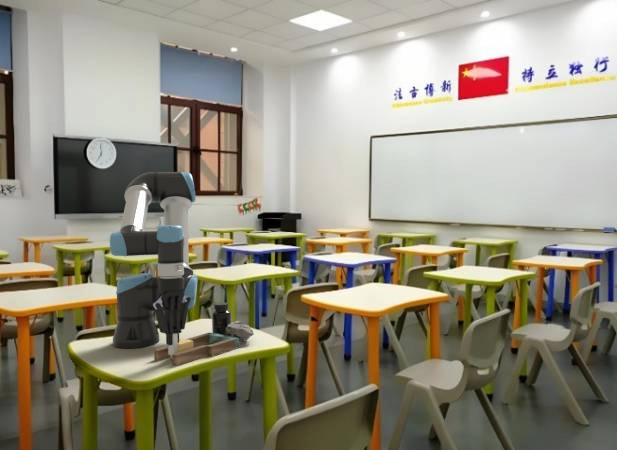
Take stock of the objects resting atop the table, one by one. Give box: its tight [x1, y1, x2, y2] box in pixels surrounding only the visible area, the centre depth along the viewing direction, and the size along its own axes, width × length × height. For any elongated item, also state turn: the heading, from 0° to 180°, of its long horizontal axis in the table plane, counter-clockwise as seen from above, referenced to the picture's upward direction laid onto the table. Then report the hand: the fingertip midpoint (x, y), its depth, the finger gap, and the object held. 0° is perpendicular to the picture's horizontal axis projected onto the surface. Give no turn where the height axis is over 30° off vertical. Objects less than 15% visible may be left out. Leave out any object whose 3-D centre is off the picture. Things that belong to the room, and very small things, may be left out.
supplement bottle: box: [211, 302, 233, 336], centre depth 178 cm, size 7×7×12 cm
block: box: [169, 338, 194, 360], centre depth 154 cm, size 5×5×5 cm
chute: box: [153, 332, 240, 367], centre depth 159 cm, size 14×24×3 cm, turn 144°
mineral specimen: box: [225, 320, 255, 344], centre depth 171 cm, size 10×8×10 cm
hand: (173, 354), depth 152 cm, fingers closed
